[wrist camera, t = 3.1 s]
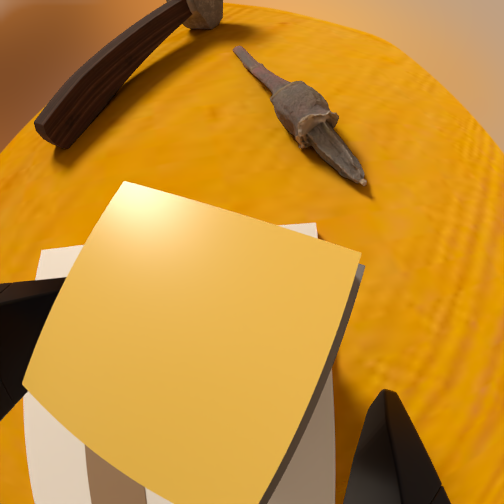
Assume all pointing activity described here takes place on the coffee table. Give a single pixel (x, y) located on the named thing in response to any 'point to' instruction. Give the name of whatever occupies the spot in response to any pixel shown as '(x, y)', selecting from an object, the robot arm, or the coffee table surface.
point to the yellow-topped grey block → (193, 344)
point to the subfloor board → (126, 489)
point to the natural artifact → (306, 118)
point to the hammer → (117, 68)
